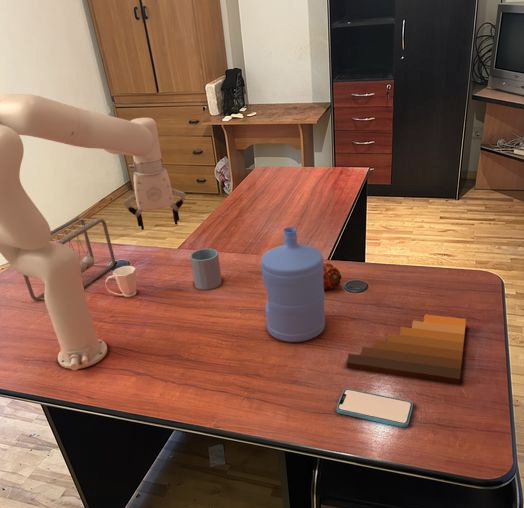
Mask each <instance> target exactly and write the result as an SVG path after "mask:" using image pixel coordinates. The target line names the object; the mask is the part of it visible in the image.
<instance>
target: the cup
mask: <svg viewBox="0 0 524 508" xmlns="http://www.w3.org/2000/svg"><path fill="white" fill-rule="evenodd" d="M110 279H114V280H115V282H116V284H117V286H118V288H119V290H120V292H121V293H117V292H114V291H112V290H110V289H109V288H108V285H107V284H108V281H109V280H110ZM105 289H106V290H107V292H108V293H110V294H112V295H115V296H118V297H125V298H131V297H134V296H136V294H137V293H138V292H137V291H138V290H137V268H136V267H134V266H132V265H122V266H119V267H117V268H115V269H114V270H113V272H112V275H110V276H108V277H106V279H105Z"/></svg>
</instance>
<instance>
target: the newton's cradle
mask: <svg viewBox="0 0 524 508" xmlns="http://www.w3.org/2000/svg"><path fill="white" fill-rule="evenodd" d="M85 221H90V222H88V223H87V224H85ZM79 222H80V224H79V225H77V223H79ZM100 223H101V224H102V229H103V231H104V235H105V239H106V243H107V247H108V251H109V255H110V260H111V263H110V264H109V265H108V264H101V263H95V259H94V258H95V257H94V253H93V250H92V246H91V242H90V238H89V234H88V231H89V230H90V229H92V228H93V227H95V226H97V225H99V224H100ZM75 225H76V226H78V227H80V228H78V229H75V227H74V226H75ZM71 227H73V229H72V231H73V232H71V233H70V234H68V233H67V231H68V228H71ZM63 231H64V232H65V233H66V234H65V236H64V237H63V238H61V239H60V238H59V235H60V236H62V234H60V233H61V232H63ZM81 234H83V236H84V240H85V246H86V248H87V250H86V252H85V249H84V248H83V245H82V242H81V240H80V239H79V236H80V235H81ZM54 236H56V237H57V241H56V243H61V244H64V245H66V244H67V243H68V244H69V246H71V248H72V249H73V250H74V251H75V249H74V247H73V244H72V243H71V241H72V240H73V239H75V238H76V239H77V241H78V242H79V243H80V244H79V243H77V246H78V247H77V248H78V249H80V246H81V249H82V250H83V253H84V255H85V256H84V257H83V258H82V260H81V259H80V264H81V273H84V272H85V271H87V269H88V268H91V267H93V266H101V267H105V268H103V270H101V271H100V272H98V273H97V274H95V275H93V276H92V277H91V278H89V279H88V280H87V281H85V282H84V283H83V288H84V289H85V288H86V287H88V286H89V285H90V284H92V283H93V282H94V281H96V280H97V279H99V278H100V277H101V276H103V275H104V274H106V273H107V272H108V271H110V270H111V269H112V268H113V267H114V266H115V265H116V258H115V254H114V250H113V245H112V242H111V238H110V234H109V231H108V227H107V222H106V220H105V219H103V218H99V219H92V218H91V219H90V218H83V217H81V216H76V217H74V218H72V219H71V220H68V221H67V222H65V223H63V224H62V225H59V226H58V227H56V228H54V229H53V230H51V237H50V238H51V241H53V240H54V241H55V239H53V238H52V237H54ZM80 252H81V251H78V257H81V253H80ZM22 276H23V279H24V282H25V284H26V288H27V290H28V293H29V297H30V298H31V299H32V300H33V301H39V300H44V301H45V299H44V293H45V291H43V292H42V293H40V294H39V295H37V296H35V292H34V290H33V287H32V285H31V281H30V277H29V276H26V275H23V274H22Z"/></svg>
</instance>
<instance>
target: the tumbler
mask: <svg viewBox="0 0 524 508" xmlns="http://www.w3.org/2000/svg"><path fill="white" fill-rule="evenodd" d="M189 261H190V266H191V272H192V278H193V284H194V288H196V289H198V290H205V291H206V290H213V289H215V288H218V287H220V286H221V285H222V282H223V279H222V278H223V277H222V272H221V271H222V270H221V263H220V257H219V252H218V250H217V249H214V248H199V249H197V250H194V251H193V252H191V253H190V254H189Z"/></svg>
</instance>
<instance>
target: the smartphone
mask: <svg viewBox="0 0 524 508" xmlns="http://www.w3.org/2000/svg"><path fill="white" fill-rule="evenodd" d="M413 407H414V404H413V402H412V401H410V400H407V399H402V398H398V397H397V398H396V397H392V396H387V395H383V394H378V393H372V392H367V391H363V390H357V389H352V388H344V389H343V391H342V393H341V396H340V398H339V401H338V402H337V405H336V412H337V413H338V414H341V415H346V416H349V417H355V418H360V419H363V420H369V421H372V422H376V423H382V424H386V425H391V426H395V427H400V428H406V427H408V426H409V423H410V419H411V416H412V412H413Z"/></svg>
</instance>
